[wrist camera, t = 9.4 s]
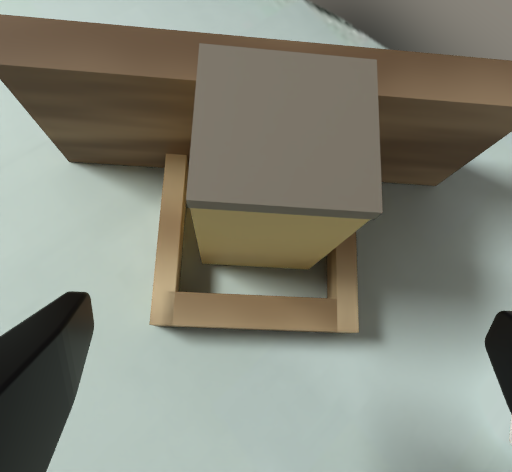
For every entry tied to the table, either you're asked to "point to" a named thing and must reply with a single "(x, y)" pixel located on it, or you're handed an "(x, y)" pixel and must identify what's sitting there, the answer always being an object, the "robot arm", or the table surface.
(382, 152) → the wall board
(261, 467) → the table surface
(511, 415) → the fire extinguisher
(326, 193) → the grey-topped square block
